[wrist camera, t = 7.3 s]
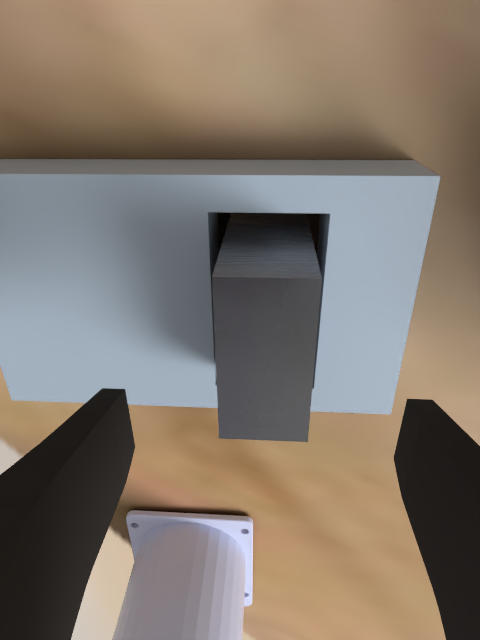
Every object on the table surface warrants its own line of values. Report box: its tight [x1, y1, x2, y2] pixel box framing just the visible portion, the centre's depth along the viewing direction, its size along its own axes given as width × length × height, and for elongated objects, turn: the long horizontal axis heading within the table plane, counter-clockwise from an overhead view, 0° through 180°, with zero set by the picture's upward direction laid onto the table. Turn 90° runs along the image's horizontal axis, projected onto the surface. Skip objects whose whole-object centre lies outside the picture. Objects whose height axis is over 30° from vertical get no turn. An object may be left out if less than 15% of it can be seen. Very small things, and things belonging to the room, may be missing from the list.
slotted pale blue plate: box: [0, 159, 441, 414], centre depth 18 cm, size 10×17×3 cm, turn 91°
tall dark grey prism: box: [212, 213, 322, 442], centre depth 16 cm, size 6×3×7 cm, turn 1°
